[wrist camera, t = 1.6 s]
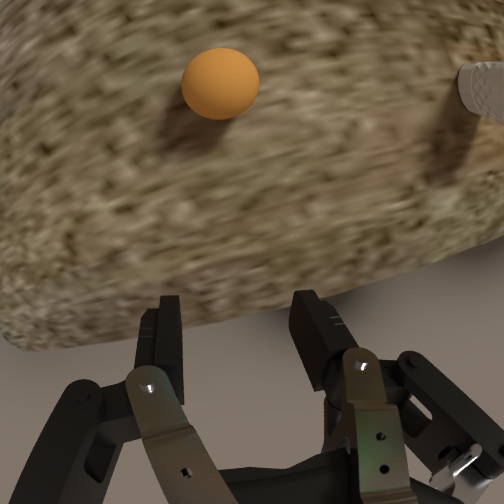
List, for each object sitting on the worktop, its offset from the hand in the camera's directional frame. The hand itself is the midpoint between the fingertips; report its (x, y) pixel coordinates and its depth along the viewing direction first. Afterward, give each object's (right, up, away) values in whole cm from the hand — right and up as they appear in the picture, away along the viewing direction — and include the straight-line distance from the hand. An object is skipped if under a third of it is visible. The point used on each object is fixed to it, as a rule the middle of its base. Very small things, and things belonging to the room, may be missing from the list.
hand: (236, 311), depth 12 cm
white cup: (+27, +22, +12) cm, 37 cm away
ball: (-2, +14, +6) cm, 16 cm away
